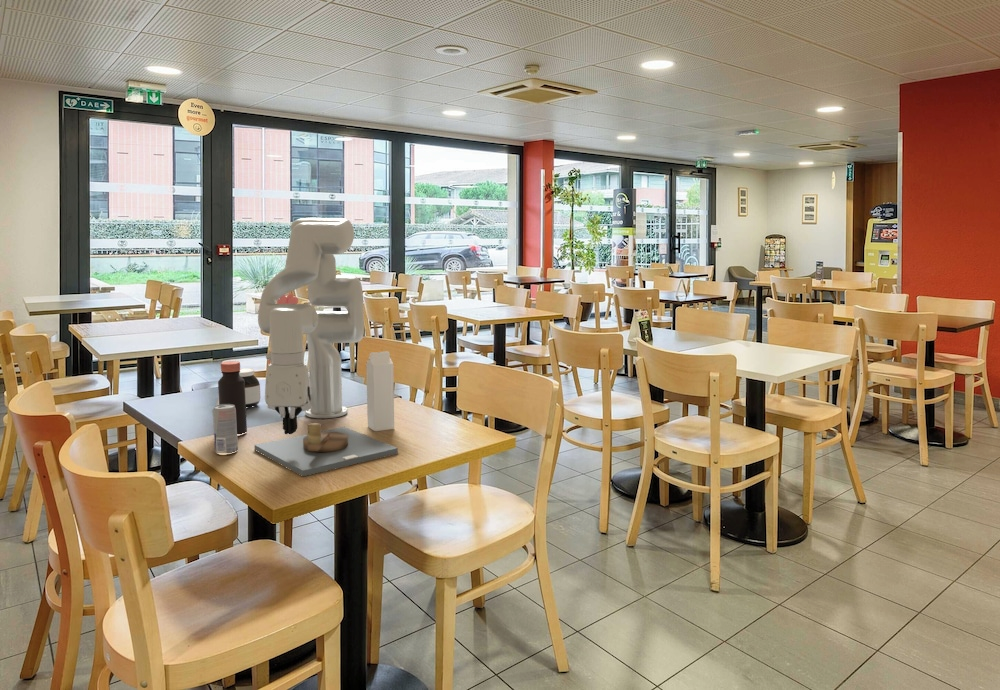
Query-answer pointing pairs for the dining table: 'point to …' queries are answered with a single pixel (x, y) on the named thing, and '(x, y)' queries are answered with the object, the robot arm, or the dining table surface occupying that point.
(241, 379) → the bottle
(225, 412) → the energy drink
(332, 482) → the dining table surface
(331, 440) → the dial
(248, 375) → the spread jar
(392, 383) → the milk
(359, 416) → the dining table surface
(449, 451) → the dining table surface
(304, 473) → the base plate
